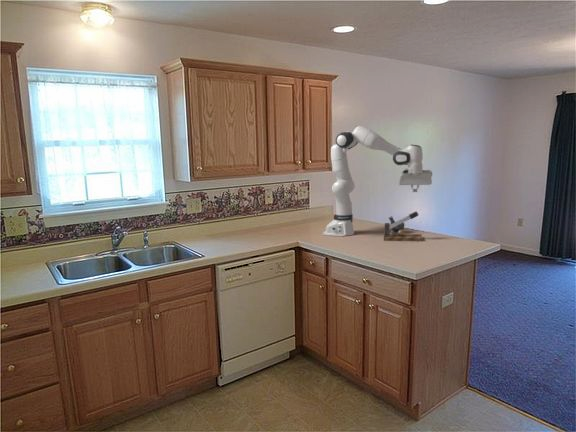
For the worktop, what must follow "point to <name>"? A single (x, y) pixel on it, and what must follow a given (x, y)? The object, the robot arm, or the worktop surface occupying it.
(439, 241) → the worktop surface
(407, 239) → the base
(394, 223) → the lever
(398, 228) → the mortar and pestle
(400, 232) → the smooth brown ball
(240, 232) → the worktop surface
